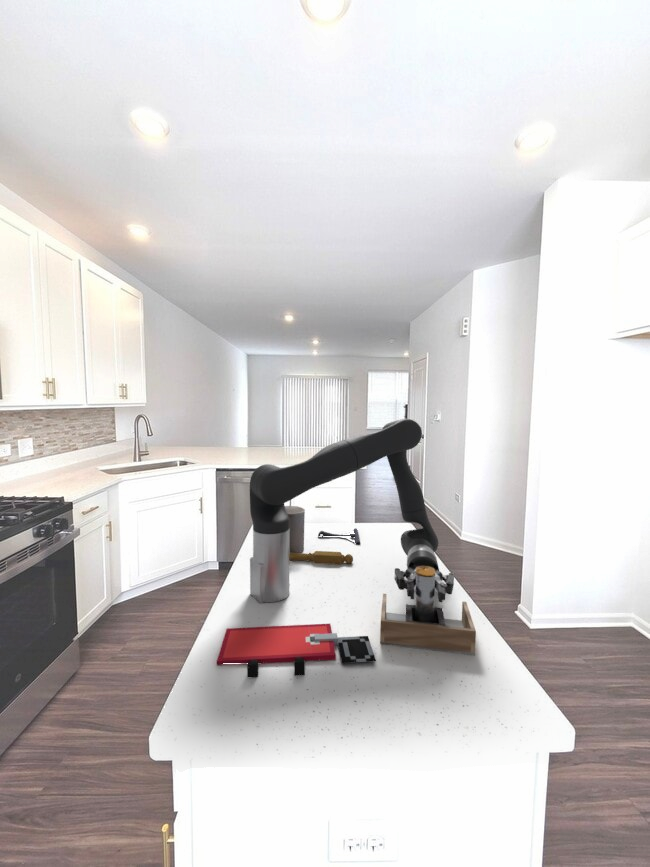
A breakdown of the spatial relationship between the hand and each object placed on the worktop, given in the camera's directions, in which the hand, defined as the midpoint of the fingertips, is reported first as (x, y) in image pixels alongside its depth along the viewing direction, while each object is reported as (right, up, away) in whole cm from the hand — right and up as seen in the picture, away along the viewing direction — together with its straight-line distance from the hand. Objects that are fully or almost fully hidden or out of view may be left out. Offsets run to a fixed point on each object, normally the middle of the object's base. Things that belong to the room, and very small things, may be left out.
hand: (426, 596), depth 84 cm
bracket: (-16, -4, +62) cm, 64 cm away
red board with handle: (-27, -10, -4) cm, 29 cm away
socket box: (0, -9, +3) cm, 9 cm away
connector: (0, -8, +3) cm, 9 cm away
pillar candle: (-33, -5, +49) cm, 60 cm away
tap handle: (-28, -6, +40) cm, 49 cm away
